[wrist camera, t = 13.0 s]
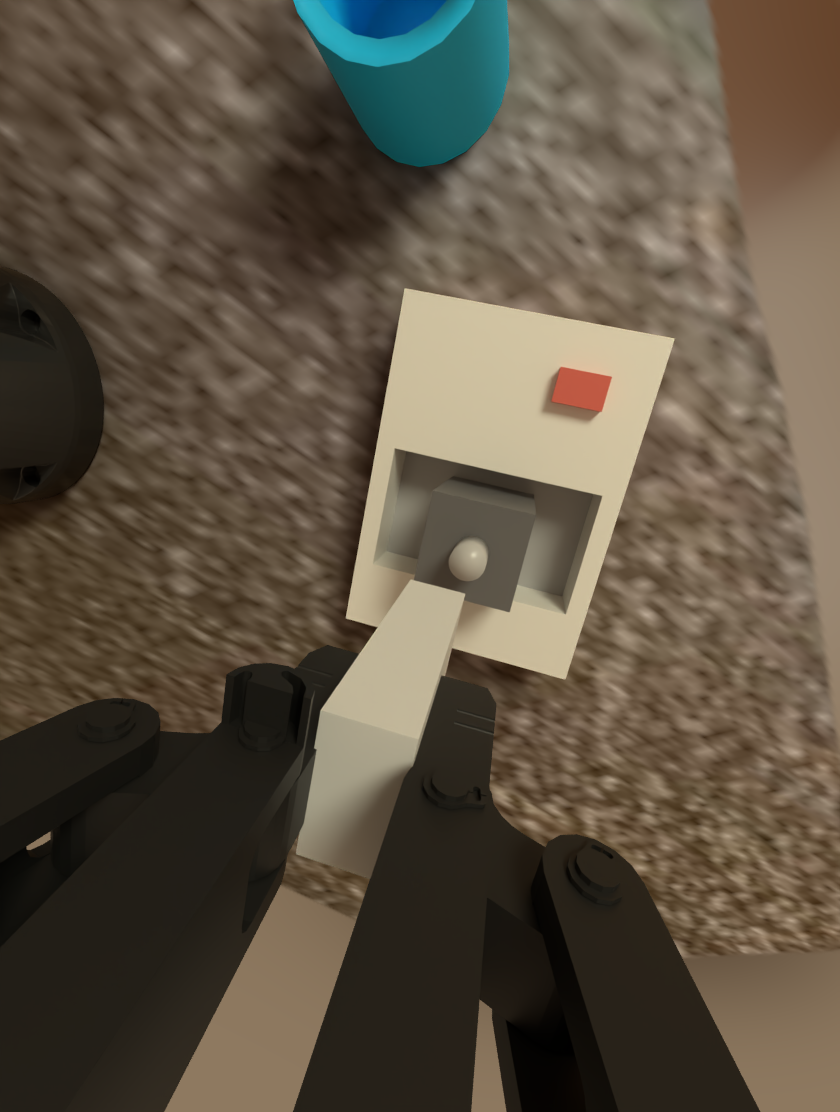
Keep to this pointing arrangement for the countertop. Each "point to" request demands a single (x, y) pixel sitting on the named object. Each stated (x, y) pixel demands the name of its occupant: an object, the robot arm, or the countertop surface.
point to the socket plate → (507, 458)
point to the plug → (476, 540)
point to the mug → (415, 69)
